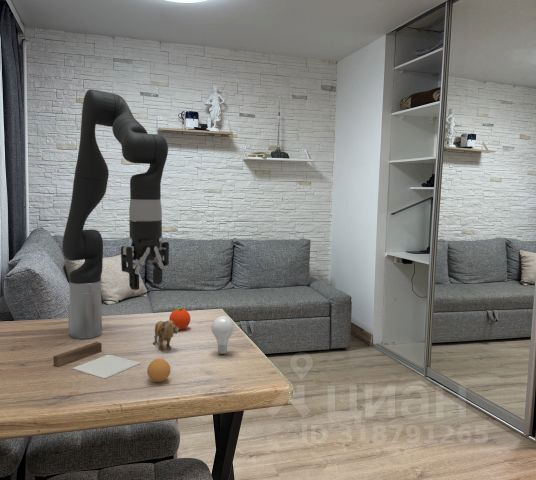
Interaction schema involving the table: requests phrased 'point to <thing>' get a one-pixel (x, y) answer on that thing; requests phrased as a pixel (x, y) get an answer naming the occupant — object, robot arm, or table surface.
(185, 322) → the tomato
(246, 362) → the table surface
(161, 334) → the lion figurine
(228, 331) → the lightbulb
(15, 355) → the table surface
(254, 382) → the table surface
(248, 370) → the table surface
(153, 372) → the ball
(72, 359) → the strip
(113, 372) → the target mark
